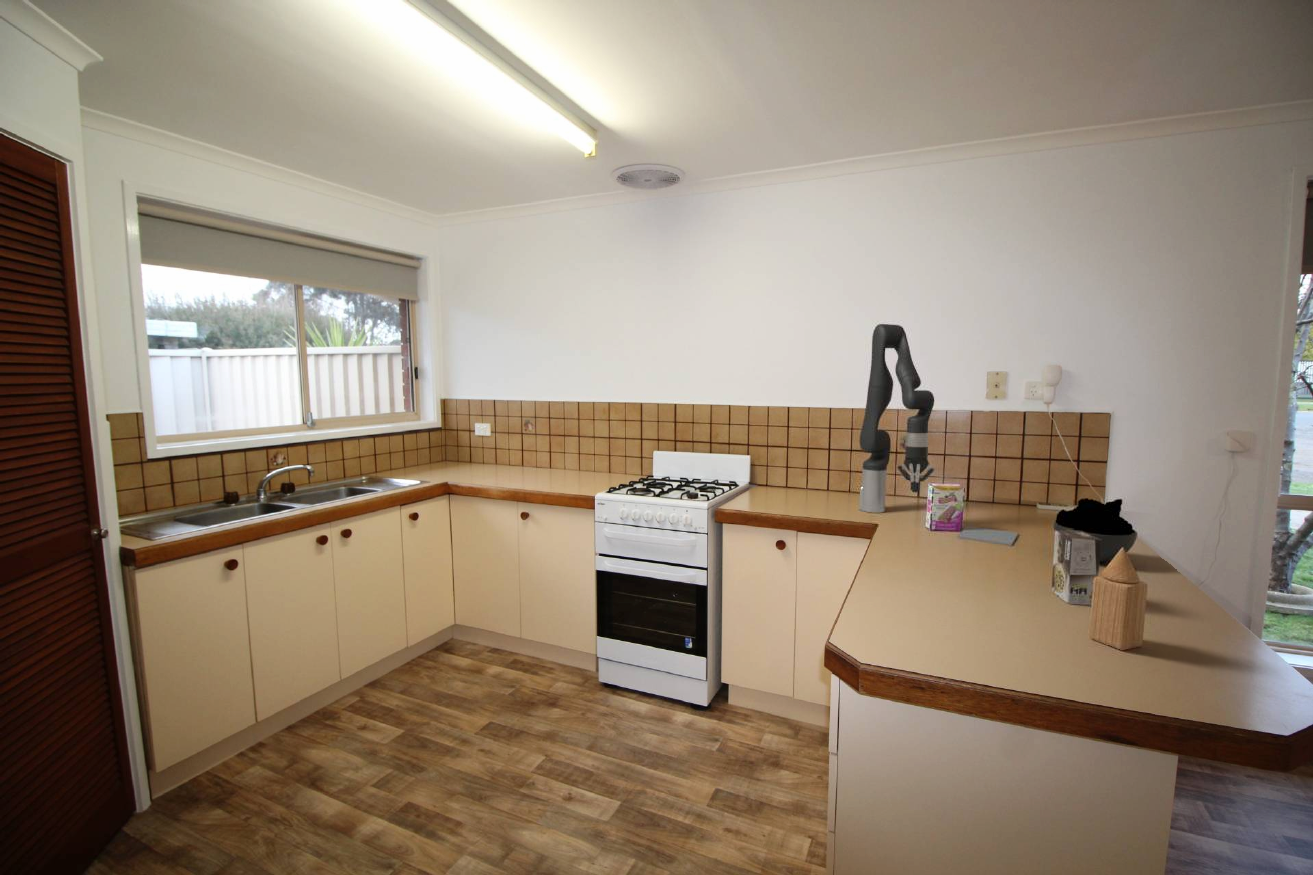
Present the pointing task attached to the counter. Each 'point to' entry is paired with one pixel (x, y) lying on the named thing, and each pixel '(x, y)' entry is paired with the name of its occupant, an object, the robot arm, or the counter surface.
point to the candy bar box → (945, 507)
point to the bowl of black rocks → (1099, 525)
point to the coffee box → (1075, 565)
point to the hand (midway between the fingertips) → (915, 492)
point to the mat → (988, 535)
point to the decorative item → (1118, 605)
